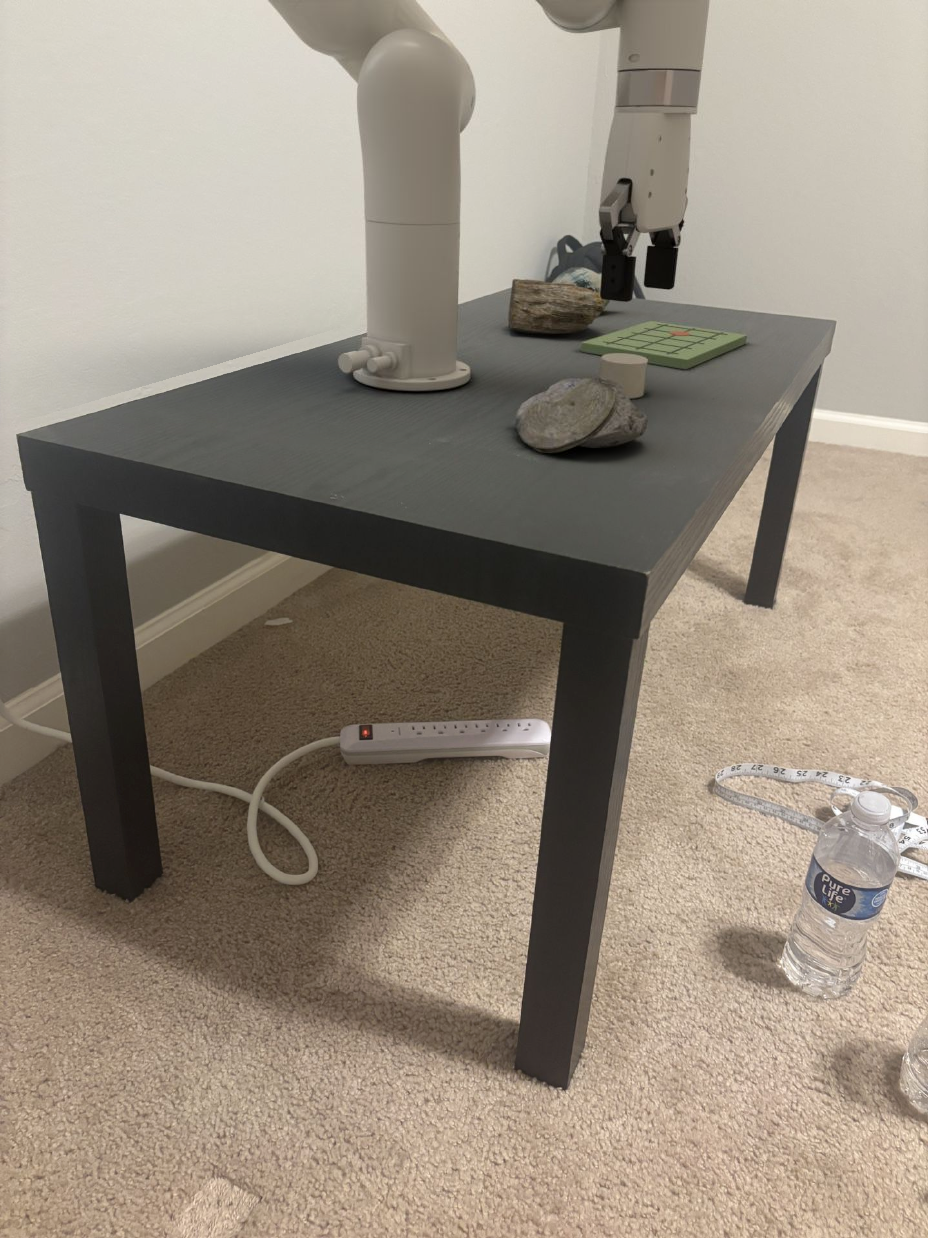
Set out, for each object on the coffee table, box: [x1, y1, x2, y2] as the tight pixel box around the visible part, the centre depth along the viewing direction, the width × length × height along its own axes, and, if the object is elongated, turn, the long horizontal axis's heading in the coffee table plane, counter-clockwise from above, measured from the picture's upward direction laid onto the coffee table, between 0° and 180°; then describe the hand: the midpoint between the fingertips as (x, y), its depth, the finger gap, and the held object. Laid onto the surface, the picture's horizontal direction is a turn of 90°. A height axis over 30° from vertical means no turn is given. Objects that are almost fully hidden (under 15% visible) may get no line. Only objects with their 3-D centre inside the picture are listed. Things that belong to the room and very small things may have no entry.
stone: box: [507, 278, 606, 335], centre depth 122 cm, size 14×10×10 cm
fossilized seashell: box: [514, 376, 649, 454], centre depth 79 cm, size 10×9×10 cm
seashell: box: [551, 266, 611, 308], centre depth 136 cm, size 6×8×12 cm
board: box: [580, 320, 748, 370], centre depth 116 cm, size 20×14×1 cm
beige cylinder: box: [598, 353, 649, 400], centre depth 94 cm, size 5×5×4 cm
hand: (638, 293), depth 90 cm, fingers open, 9 cm apart
